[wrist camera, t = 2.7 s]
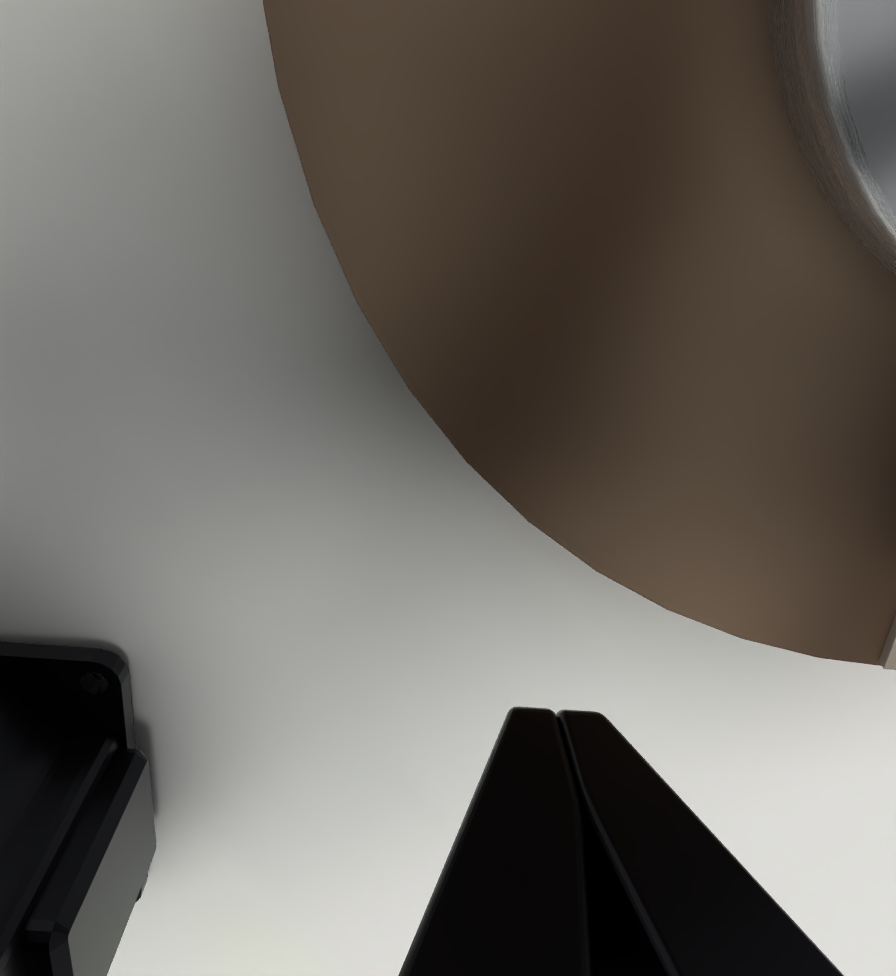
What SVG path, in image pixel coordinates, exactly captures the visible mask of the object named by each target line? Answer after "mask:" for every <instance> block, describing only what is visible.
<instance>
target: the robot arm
mask: <svg viewBox="0 0 896 976" xmlns="http://www.w3.org/2000/svg"><path fill="white" fill-rule="evenodd" d="M91 672H94V673H98V674H101V675H102V676H103V677H104V678H106V680H107V681H101V680H97V679H96V678H94V677H93V676H92V675H91V674H90V673H91ZM155 850H156V837H155V825H154V814H153V802H152V791H151V779H150V768H149V760H148V759H147V758H146V756H145V755H144V753H143V752H142V751H141V749H136V745H135V734H134V724H133V713H132V703H131V692H130V681H129V672H128V669H127V666H126V663H125V662H124V661H123V660H122V659H121V658H120V657H119V656H118V655H116V654H114V653H113V652H111V651H108V650H103V649H96V648H82V647H68V646H53V645H39V644H24V643H10V642H0V976H107V973H108V971H109V968H110V966H111V963H112V961H113V958H114V955H115V953H116V950H117V948H118V945H119V943H120V940H121V937H122V935H123V932H124V930H125V927H126V925H127V922H128V920H129V917H130V914H131V912H132V909H133V907H134V904H135V902H137V901H138V900H139V898H140V897H141V895H142V892H143V890H144V887H145V885H146V882H147V877H148V868H149V866H150V863H151V861H152V858H153V855H154V853H155ZM399 976H844V975H843V974H842V973H841V972H840V971H839V970H838V969H837V968H836V967H835V965H834V964H833V963H832V962H831V961H830V960H829V959H828V958H827V957H826V956H825V955H824V954H823V952H822V951H821V950H820V949H819V948H818V947H817V946H816V945H815V944H814V943H813V942H812V940H811V939H810V938H809V937H808V936H807V935H806V934H805V933H804V932H803V931H802V930H801V929H800V927H799V926H798V925H797V924H796V923H795V922H794V921H793V920H792V919H791V918H790V917H789V916H788V914H787V913H786V912H785V911H784V910H783V909H782V908H781V907H780V906H779V905H778V904H777V902H776V901H775V900H774V899H773V898H772V897H771V896H770V895H769V894H768V893H767V892H766V891H765V889H764V888H763V887H762V886H761V885H760V884H759V883H758V882H757V881H756V880H755V879H754V878H753V876H752V875H751V874H750V873H749V872H748V871H747V870H746V869H745V868H744V867H743V866H742V864H741V863H740V862H739V861H738V860H737V859H736V858H735V857H734V856H733V855H732V854H731V853H730V851H729V850H728V849H727V848H726V847H725V846H724V845H723V844H722V843H721V842H720V841H719V840H718V838H717V837H716V836H715V835H714V834H713V833H712V832H711V831H710V830H709V829H708V828H707V826H706V825H705V824H704V823H703V822H702V821H701V820H700V819H699V818H698V817H697V816H696V815H695V813H694V812H693V811H692V810H691V809H690V808H689V807H688V806H687V805H686V804H685V803H684V802H683V800H682V799H681V798H680V797H679V796H678V795H677V794H676V793H675V792H674V791H673V790H672V788H671V787H670V786H669V785H668V784H667V783H666V782H665V781H664V780H663V779H662V778H661V777H660V775H659V774H658V773H657V772H656V771H655V770H654V769H653V768H652V767H651V766H650V765H649V764H648V762H647V761H646V760H645V759H644V758H643V757H642V756H641V755H640V754H639V753H638V752H637V750H636V749H635V748H634V747H633V746H632V745H631V744H630V743H629V742H628V741H627V740H626V739H625V737H624V736H623V735H622V734H621V733H620V732H619V731H618V730H617V729H616V728H615V727H614V726H613V724H612V723H611V722H610V721H609V720H608V719H607V718H606V717H605V716H604V715H602V714H601V713H598V712H592V711H577V710H561V711H559V712H558V713H557V714H556V715H555V713H554V712H553V711H552V710H550V709H546V708H531V707H513V708H511V709H510V710H509V712H508V714H507V716H506V718H505V721H504V723H503V726H502V728H501V730H500V733H499V735H498V738H497V740H496V742H495V745H494V747H493V750H492V752H491V754H490V757H489V759H488V762H487V764H486V767H485V769H484V771H483V774H482V776H481V779H480V781H479V783H478V786H477V788H476V791H475V793H474V795H473V798H472V800H471V803H470V805H469V807H468V810H467V812H466V815H465V817H464V819H463V822H462V824H461V827H460V829H459V831H458V834H457V836H456V839H455V841H454V843H453V846H452V848H451V851H450V853H449V855H448V858H447V860H446V863H445V865H444V868H443V870H442V872H441V875H440V877H439V880H438V882H437V884H436V887H435V889H434V892H433V894H432V896H431V899H430V901H429V904H428V906H427V908H426V911H425V913H424V916H423V918H422V920H421V923H420V925H419V928H418V930H417V932H416V935H415V937H414V940H413V942H412V944H411V947H410V949H409V952H408V954H407V956H406V959H405V961H404V964H403V966H402V968H401V971H400V973H399Z"/></svg>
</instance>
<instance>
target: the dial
mask: <svg viewBox="0 0 896 976" xmlns="http://www.w3.org/2000/svg"><path fill="white" fill-rule="evenodd" d="M766 3H767V15H768V28H769V41H770V50H771V55H772V60H773V65H774V70H775V75H776V80H777V84H778V89H779V94H780V99H781V104H782V106H783V109H784V112H785V115H786V118H787V121H788V123H789V126H790V129H791V132H792V135H793V138H794V140H795V143H796V146H797V149H798V152H799V154H800V156H801V158H802V160H803V162H804V164H805V166H806V167H807V169H808V171H809V173H810V175H811V177H812V179H813V181H814V183H815V185H816V186H817V188H818V190H819V192H820V194H821V196H822V197H823V199H824V200H825V201H826V203H827V204H828V206H829V207H830V208H831V210H832V211H833V212H834V214H835V215H836V216H837V218H838V219H839V220H840V222H841V223H842V224H843V226H844V227H845V228H846V230H847V231H848V233H849V234H850V235H851V236H852V237H853V238H854V239H855V240H856V241H857V242H858V243H859V244H860V245H861V246H862V247H863V248H864V249H865V250H867V251H868V252H869V253H870V254H871V255H872V256H873V257H874V258H875V259H876V260H877V261H878V262H879V263H880V264H881V265H882V266H883V267H885V268H886V269H888V270H889V271H891V272H892V273H893V274H895V275H896V0H766Z"/></svg>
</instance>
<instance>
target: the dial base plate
mask: <svg viewBox="0 0 896 976" xmlns="http://www.w3.org/2000/svg"><path fill="white" fill-rule="evenodd" d="M263 4H264V10H265V15H266V21H267V27H268V32H269V38H270V43H271V49H272V54H273V60H274V66H275V71H276V77H277V82H278V88H279V91H280V95H281V98H282V101H283V104H284V108H285V111H286V114H287V118H288V121H289V124H290V128H291V131H292V134H293V138H294V141H295V144H296V148H297V151H298V154H299V157H300V161H301V164H302V167H303V171H304V174H305V177H306V181H307V184H308V187H309V191H310V194H311V197H312V201H313V204H314V206H315V208H316V211H317V213H318V215H319V217H320V220H321V222H322V224H323V226H324V229H325V231H326V233H327V236H328V238H329V240H330V242H331V245H332V247H333V249H334V251H335V254H336V256H337V258H338V261H339V263H340V265H341V267H342V270H343V272H344V274H345V276H346V279H347V281H348V283H349V286H350V288H351V290H352V292H353V295H354V297H355V299H356V302H357V304H358V305H359V307H360V309H361V310H362V312H363V314H364V315H365V317H366V319H367V320H368V322H369V324H370V325H371V327H372V329H373V330H374V332H375V334H376V335H377V337H378V339H379V340H380V342H381V344H382V345H383V347H384V349H385V350H386V352H387V354H388V355H389V357H390V359H391V360H392V362H393V364H394V365H395V367H396V369H397V370H398V372H399V374H400V375H401V377H402V379H403V380H404V382H405V384H406V385H407V387H408V389H409V390H410V391H411V392H412V394H413V395H414V396H415V397H416V399H417V400H418V401H419V403H420V404H421V405H422V406H423V408H424V409H425V410H426V411H427V413H428V414H429V415H430V416H431V418H432V419H433V420H434V421H435V423H436V424H437V425H438V426H439V428H440V429H441V430H442V431H443V433H444V434H445V435H446V437H447V438H448V439H449V440H450V442H451V443H452V444H453V445H454V447H455V448H456V449H457V450H458V452H459V453H460V454H461V455H462V457H463V458H464V459H465V460H466V462H467V463H468V464H470V465H471V466H472V467H473V468H474V469H475V470H476V471H477V472H478V473H479V474H480V475H481V476H482V477H483V478H484V479H485V480H486V481H487V482H488V483H489V484H490V485H491V486H492V487H493V488H494V489H495V490H497V491H498V492H499V493H500V494H501V495H502V496H503V497H504V498H505V499H506V500H507V501H508V502H509V503H510V504H511V505H512V506H513V507H514V508H515V509H516V510H517V511H518V512H519V513H520V514H521V515H523V516H524V517H525V518H526V519H527V520H528V521H529V522H530V523H531V524H533V525H534V526H536V527H537V528H538V529H540V530H541V531H542V532H544V533H545V534H546V535H548V536H549V537H551V538H552V539H553V540H555V541H556V542H557V543H559V544H560V545H561V546H563V547H564V548H566V549H567V550H568V551H570V552H571V553H572V554H574V555H575V556H577V557H578V558H579V559H581V560H582V561H583V562H585V563H586V564H587V565H589V566H590V567H592V568H593V569H594V570H596V571H597V572H599V573H601V574H603V575H605V576H607V577H608V578H610V579H612V580H614V581H616V582H618V583H619V584H621V585H623V586H625V587H627V588H629V589H630V590H632V591H634V592H636V593H638V594H640V595H641V596H643V597H645V598H647V599H649V600H651V601H652V602H654V603H656V604H658V605H660V606H662V607H663V608H665V609H667V610H670V611H672V612H675V613H677V614H680V615H683V616H685V617H688V618H690V619H693V620H695V621H698V622H701V623H703V624H706V625H708V626H711V627H714V628H716V629H719V630H721V631H724V632H726V633H729V634H732V635H734V636H737V637H739V638H742V639H746V640H750V641H754V642H758V643H762V644H766V645H770V646H774V647H778V648H782V649H786V650H790V651H794V652H798V653H802V654H806V655H810V656H814V657H818V658H825V659H833V660H841V661H849V662H857V663H864V664H872V665H880V666H882V667H883V668H884V669H893V670H896V275H895V274H893V273H892V272H891V271H889V270H888V269H886V268H885V267H883V266H882V265H881V264H880V263H879V262H878V261H877V260H876V259H875V258H874V257H873V256H872V255H871V254H870V253H869V252H868V251H867V250H865V249H864V248H863V247H862V246H861V245H860V244H859V243H858V242H857V241H856V240H855V239H854V238H853V237H852V236H851V235H850V234H849V233H848V231H847V230H846V228H845V227H844V226H843V224H842V223H841V222H840V220H839V219H838V218H837V216H836V215H835V214H834V212H833V211H832V210H831V208H830V207H829V206H828V204H827V203H826V201H825V200H824V199H823V197H822V196H821V194H820V192H819V190H818V188H817V186H816V185H815V183H814V181H813V179H812V177H811V175H810V173H809V171H808V169H807V167H806V166H805V164H804V162H803V160H802V158H801V156H800V154H799V152H798V149H797V146H796V143H795V140H794V138H793V135H792V132H791V129H790V126H789V123H788V121H787V118H786V115H785V112H784V109H783V106H782V104H781V99H780V94H779V89H778V84H777V80H776V75H775V70H774V65H773V60H772V55H771V50H770V41H769V28H768V15H767V3H766V0H263Z"/></svg>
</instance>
